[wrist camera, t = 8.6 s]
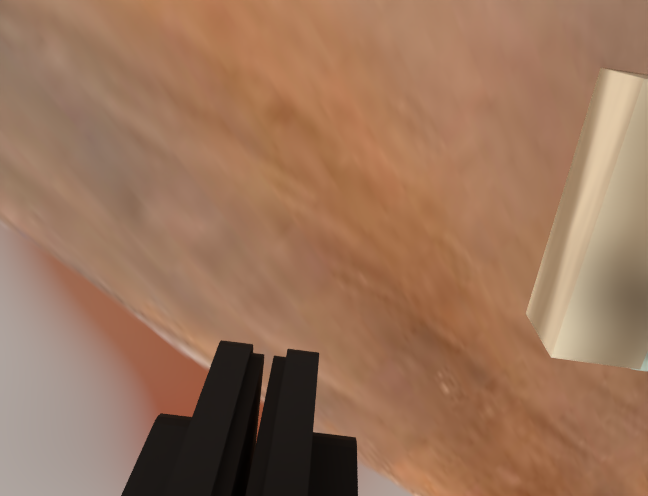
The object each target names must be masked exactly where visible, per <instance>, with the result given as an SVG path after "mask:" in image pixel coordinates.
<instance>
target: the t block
mask: <svg viewBox="0 0 648 496" xmlns="http://www.w3.org/2000/svg"><path fill="white" fill-rule="evenodd" d="M526 315H527V316H528V318H529V320H530V322H531V323H532V325H533V327H534V329H535V330H536V332H537V334H538V336H539V337H540V339H541V341H542V343H543V344H544V346H545V348H546V350H547V351H548V353H549V355H550V356H551V357H552V358H559V359H566V360H574V361H581V362H588V363H595V364H603V365H610V366H617V367H625V368H632V369H639V370H640V369H641V366H642V364H643V361H644V359H645V356H646V354H647V352H648V74H641V73H634V72H627V71H620V70H613V69H606V68H600V72H599V75H598V78H597V82H596V85H595V88H594V91H593V95H592V98H591V101H590V105H589V108H588V111H587V114H586V118H585V121H584V124H583V128H582V131H581V134H580V137H579V141H578V144H577V147H576V151H575V154H574V157H573V160H572V164H571V167H570V170H569V174H568V177H567V180H566V183H565V187H564V190H563V193H562V197H561V200H560V203H559V206H558V210H557V213H556V216H555V220H554V223H553V226H552V229H551V233H550V236H549V239H548V243H547V246H546V249H545V252H544V256H543V259H542V262H541V265H540V269H539V272H538V275H537V279H536V282H535V285H534V288H533V292H532V295H531V298H530V302H529V305H528V308H527V311H526Z"/></svg>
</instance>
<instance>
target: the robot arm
mask: <svg viewBox="0 0 648 496" xmlns="http://www.w3.org/2000/svg"><path fill="white" fill-rule="evenodd" d="M318 362H319V353H317V352H309V351H301V350H293V349H288V350H287V356H286V357H280V356H274V358H273V363H272V368H271V373H270V377H269V382H268V387H267V392H266V397H265V402H264V407H263V412H262V417H261V422H260V427H259V432H258V436H257V426H258V416H259V405H260V396H261V386H262V375H263V365H264V354H256V353H253V344H246V343H238V342H230V341H222V340H221V341H220V343H219V345H218V348H217V351H216V353H215V356H214V359H213V362H212V364H211V367H210V370H209V373H208V375H207V378H206V381H205V383H204V386H203V389H202V392H201V394H200V397H199V400H198V403H197V405H196V408H195V411H194V414H193V416H192V417H186V416H178V415H170V414H160V415H158V417H157V418H156V420H155V422H154V424H153V426H152V428H151V431H150V433H149V435H148V437H147V440H146V442H145V444H144V446H143V448H142V451H141V453H140V455H139V457H138V460H137V462H136V464H135V466H134V469H133V471H132V473H131V475H130V477H129V479H128V482H127V484H126V486H125V488H124V491H123V493H122V495H121V496H358V479H357V441H356V437H348V436H340V435H332V434H323V433H315V432H313V424H314V412H315V399H316V387H317V374H318ZM256 436H257V441H256Z"/></svg>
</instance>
